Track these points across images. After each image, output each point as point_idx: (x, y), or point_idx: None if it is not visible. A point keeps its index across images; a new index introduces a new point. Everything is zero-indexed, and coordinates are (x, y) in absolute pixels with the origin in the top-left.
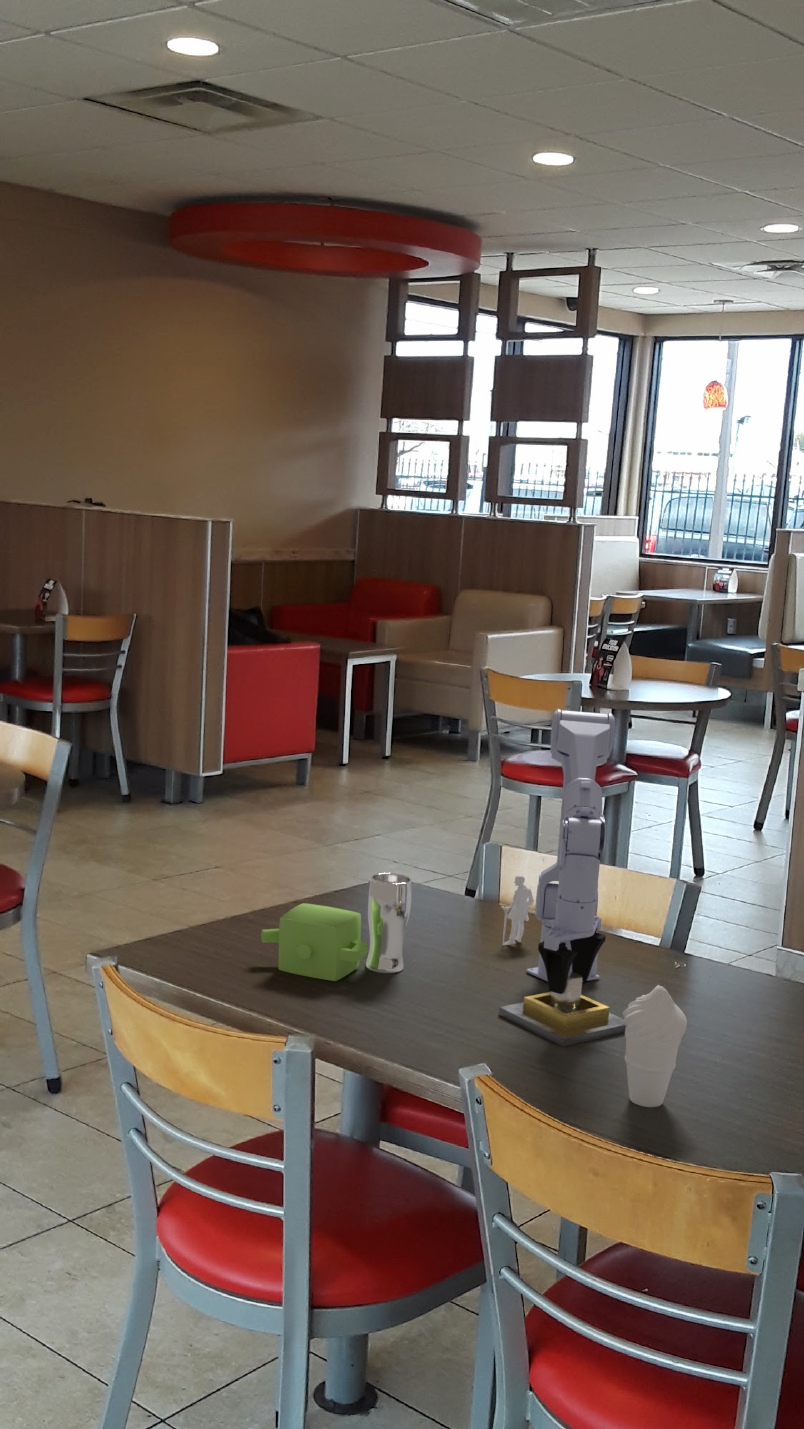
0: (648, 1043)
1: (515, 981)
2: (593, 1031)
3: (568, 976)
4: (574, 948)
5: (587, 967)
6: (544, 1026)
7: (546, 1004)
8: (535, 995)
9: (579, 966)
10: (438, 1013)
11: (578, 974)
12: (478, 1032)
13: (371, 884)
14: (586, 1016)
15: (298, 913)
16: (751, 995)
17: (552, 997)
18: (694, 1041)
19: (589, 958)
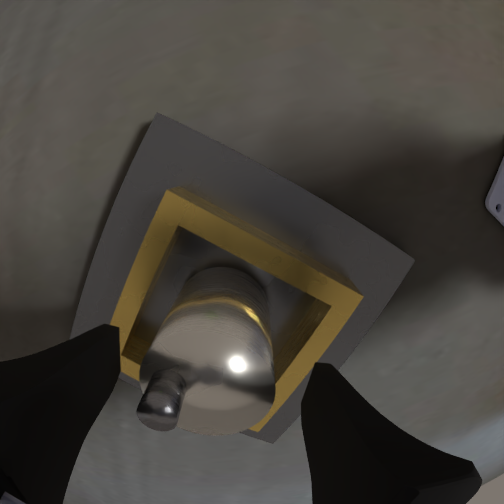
0: None
1: (465, 84)
2: None
3: (203, 394)
4: (353, 453)
5: (309, 447)
6: (97, 289)
7: (149, 285)
8: (212, 220)
9: (318, 418)
10: (92, 2)
11: (261, 416)
12: (29, 138)
13: None
14: None
15: None
16: (501, 457)
17: (174, 304)
18: (284, 494)
19: (316, 481)
